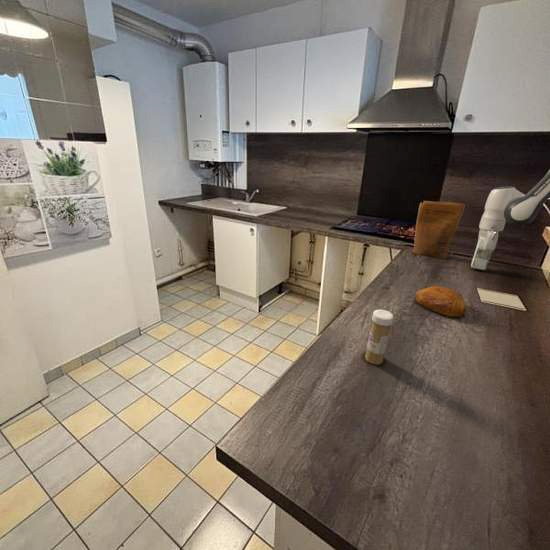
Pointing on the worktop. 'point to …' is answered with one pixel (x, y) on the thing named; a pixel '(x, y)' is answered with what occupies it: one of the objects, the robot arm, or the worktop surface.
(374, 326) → the sprinkles bottle
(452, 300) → the bread loaf
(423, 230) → the pancake mix bag
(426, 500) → the worktop surface
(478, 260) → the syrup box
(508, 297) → the napkin
